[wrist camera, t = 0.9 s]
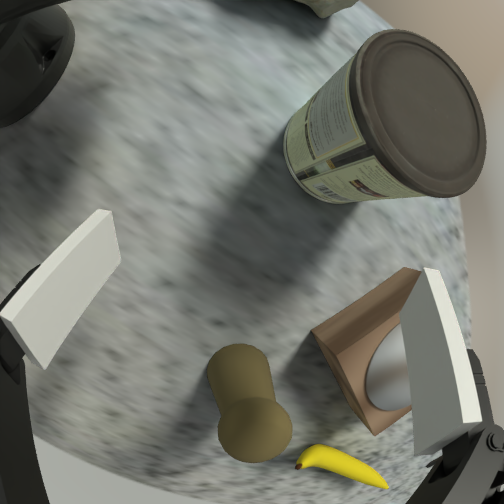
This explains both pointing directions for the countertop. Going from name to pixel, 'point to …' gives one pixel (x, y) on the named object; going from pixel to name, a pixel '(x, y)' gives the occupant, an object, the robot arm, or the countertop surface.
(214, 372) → the cork
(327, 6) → the ceramic sculpture
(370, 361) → the walnut plinth
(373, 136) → the coffee can
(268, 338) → the countertop surface
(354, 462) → the banana
